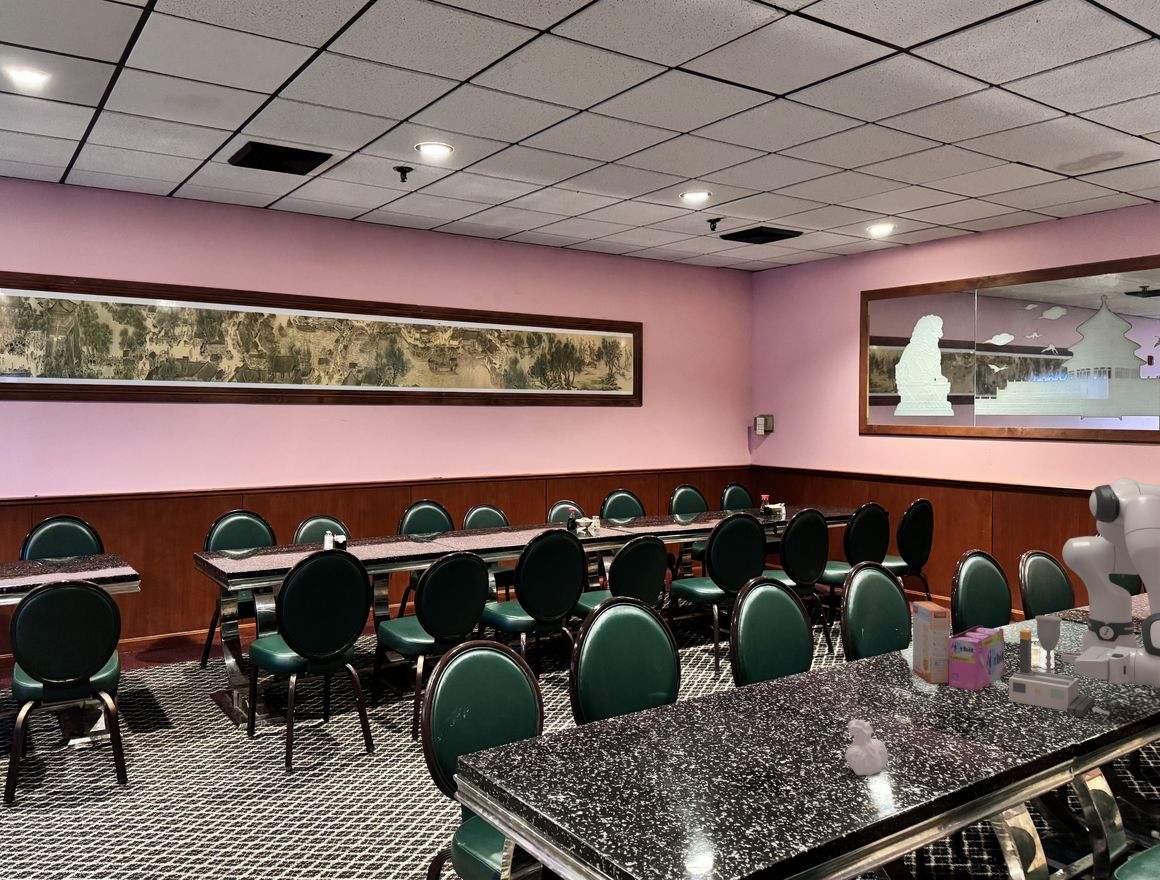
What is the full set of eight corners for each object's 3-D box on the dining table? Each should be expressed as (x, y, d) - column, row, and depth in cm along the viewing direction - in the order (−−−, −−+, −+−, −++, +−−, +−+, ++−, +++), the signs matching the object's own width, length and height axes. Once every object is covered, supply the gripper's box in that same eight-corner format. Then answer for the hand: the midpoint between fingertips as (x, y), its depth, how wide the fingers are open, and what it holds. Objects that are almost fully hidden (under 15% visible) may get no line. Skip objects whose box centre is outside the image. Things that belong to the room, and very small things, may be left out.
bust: (881, 773, 195) (854, 724, 201) (905, 760, 191) (877, 709, 196) (845, 786, 188) (818, 734, 194) (870, 773, 183) (842, 720, 189)
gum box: (979, 669, 273) (979, 624, 273) (1007, 674, 267) (1006, 628, 267) (948, 686, 255) (948, 637, 255) (977, 691, 250) (977, 642, 250)
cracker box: (950, 684, 257) (950, 609, 257) (929, 684, 257) (929, 609, 257) (932, 671, 271) (932, 600, 271) (912, 671, 271) (912, 600, 271)
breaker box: (1020, 692, 249) (1020, 667, 249) (1078, 701, 240) (1078, 675, 240) (1008, 701, 240) (1008, 675, 240) (1067, 711, 231) (1067, 684, 231)
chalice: (1059, 686, 254) (1059, 621, 254) (1032, 682, 259) (1032, 618, 259) (1064, 680, 260) (1064, 617, 260) (1038, 676, 264) (1038, 614, 264)
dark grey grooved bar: (1081, 699, 241) (1081, 693, 241) (1096, 702, 239) (1096, 696, 239) (1067, 713, 229) (1067, 707, 229) (1082, 716, 227) (1082, 710, 227)
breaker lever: (1020, 672, 246) (1020, 628, 246) (1035, 674, 243) (1035, 630, 243) (1016, 675, 242) (1016, 631, 242) (1030, 678, 240) (1030, 633, 240)
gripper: (1131, 644, 236) (1072, 637, 245) (1115, 659, 220) (1052, 651, 229) (1131, 669, 236) (1072, 661, 245) (1115, 685, 220) (1052, 676, 229)
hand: (1062, 656), depth 237 cm, fingers closed
